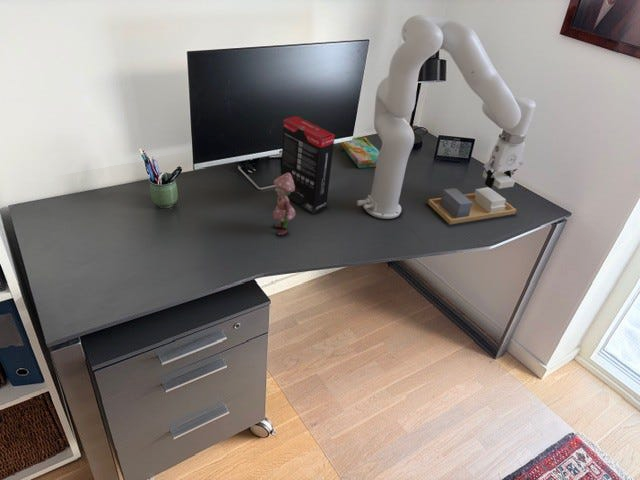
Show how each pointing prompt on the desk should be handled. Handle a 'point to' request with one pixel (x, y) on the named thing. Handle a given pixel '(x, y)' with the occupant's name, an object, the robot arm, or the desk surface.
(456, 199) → the grey book
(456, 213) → the blue-gray box
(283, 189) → the cartoon character
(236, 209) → the desk surface
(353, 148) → the puzzle game
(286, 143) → the graphics card box
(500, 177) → the white rectangular lid
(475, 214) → the desk tray
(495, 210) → the white book
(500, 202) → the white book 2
